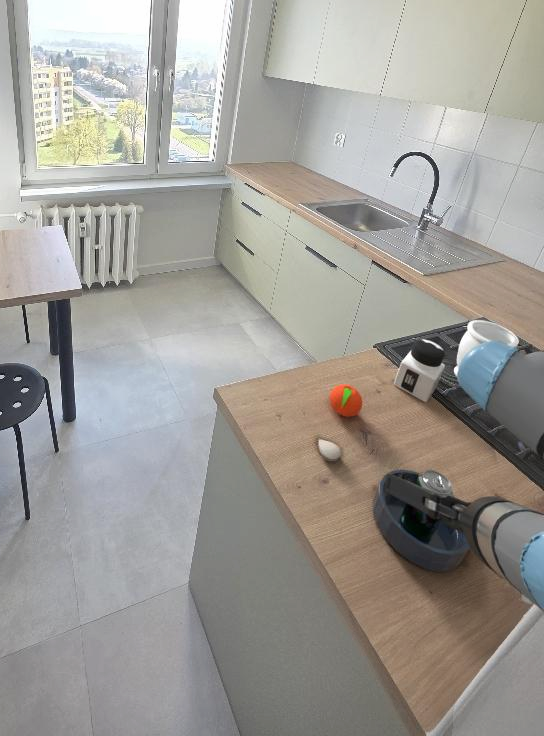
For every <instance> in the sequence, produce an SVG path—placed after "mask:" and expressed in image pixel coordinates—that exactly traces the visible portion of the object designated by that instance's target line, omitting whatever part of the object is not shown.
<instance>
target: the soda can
mask: <svg viewBox="0 0 544 736" xmlns="http://www.w3.org/2000/svg"><path fill="white" fill-rule="evenodd" d="M419 473H420V474H419V476H418V478H417V481H416V483H415V484H416V485H419V486H421V487H423V488H425V489H428V490H430V491H432V492H434V493H437V494H439V495H441V496H443V497H446V496H447V495H450V496H453V495H454V492H453V485H452V483H451V481H450V480H449V479H448V478H447V477H446V476H445V475H444V474H442V472H439V471H438V470H434V469H425V470H424V471H421V472H419ZM401 517H402V521H403V524H404V525H405V527H406V528H407V529H408V531H409V532H410V533H412V534H413V535H414V536H416V537H418V538H421V539H429V538H431V537H432V536H433V534H434V532H435V530H436V528H437V526H438V524H439V523H440V521H441V519H442V518H441V517H439V518H438V519H433V518H430V516H429V515H427V514H425V513H424V512H422V511H421V510H419V509H417V508H415V507H413V506H411V505H410V504H408V503H406V505H405V507H404V510H403V512H402V515H401Z"/></svg>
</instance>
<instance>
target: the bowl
mask: <svg viewBox="0 0 544 736" xmlns="http://www.w3.org/2000/svg"><path fill="white" fill-rule="evenodd" d="M401 472H402V473H405V474H407V475H409V478H408V479H410V480H412V481H413V482H414V484H415V483H416V481H417V478H418V476H419V474H420V473H421V472H417V471H415V470H410V469H409V470H408V469H394V470H390V471H389V472H388V473H392V474H394V475H395V476H397V477H398V476H399V474H400V475H401ZM386 477H387V473H386V474H385V475H383V477H382V478H381V480H380V483H379V485H378V487H377V490H376V492H375V495H374V498H373V499H372V514H373V517H374V521H375V524H376V526H377V528H378V529H379V531H380V532H381V535H382V536H383V538H384V539H385V540H386V541H387V542H388V544H390V546H391V547H392V548H393V549H394V550H395V551H396V552H397V553H398V554H399V555H401V556H402V557H403V558H404V559H406V560H408V561H409V562H410V563H412V564H414V565H416V566H419V567H420V568H422V569H425V570H427V571H432V572H437V573H444V572H449V571H454V570H455V569H456V568H457V567H459V566H460V564H462V562H463V561H464V558H465V557H466V556H467V554H468V552H469V550H470V549H471V548H470V546H469V544H468V542H467V540H466V537H465V535H464V534H463V533H461V532H459V531H457V530H455V529H453V528H451V527H449V526H447V525H446V524H445V523H444V522H443V519H441V521H440V523H439V524H438V526H437V528H436V530H435V532H434V534H433V536H432V537H431V538H429V539H421V538H418V537H416V536H414V535H413V534H412V533H410V532H409V531H408V529H407V528H406V527H405V525H404V524H403V521H402V517H401V515H402V512H403V510H404V507H405V505H406V502H404V501H402V500H400V499H398V498H396V497H395V496H393V495H389V494H387V492H385V491H384V489H385V483H386ZM453 497H456V496H455V495H454V494H453ZM458 505H459V506H463V505H460V504H458Z"/></svg>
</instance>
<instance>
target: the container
mask: <svg viewBox="0 0 544 736" xmlns="http://www.w3.org/2000/svg"><path fill="white" fill-rule="evenodd" d="M445 355H446V353H445V351H444V349H443V347H442V346H440V345H439V344H437V343H436V342H434V341H431V340H428V339H417V340H415V341H414V342H413V345H412V348H411V350H410V351H409V352H408V353H407V355H406V356H405V357H404V358H403V360H402V361H401V362H400V365H399V367H398V370H397V373H396V376H395V380H394V381H393V385H394V386H395V387H397V388H399V389H401V390H402V391H404V392H406V393H407V394H410V395H411V396H413V397H415V398H417V399H418V400H420V401H422V402H424V403H427V402H429V399H430V398H431V397H432V395H433V393H434V391H436V389H437V387H438V384H439V382H440V381H441V377H442V374H443V372H444V370H445V367H446V364H444V363H443V360H444V358H445Z"/></svg>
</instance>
